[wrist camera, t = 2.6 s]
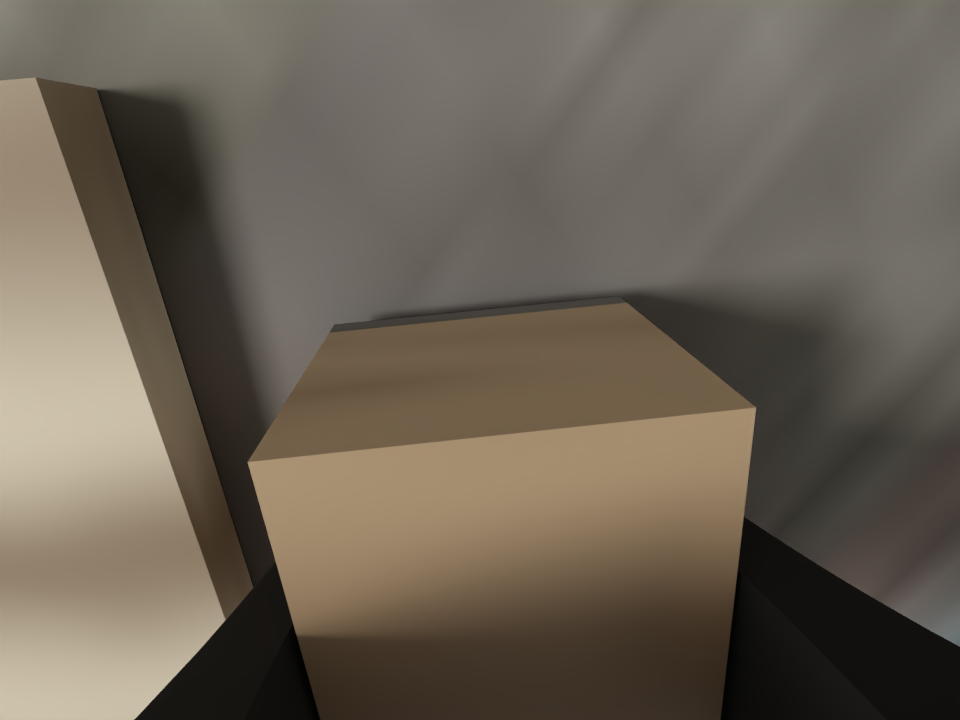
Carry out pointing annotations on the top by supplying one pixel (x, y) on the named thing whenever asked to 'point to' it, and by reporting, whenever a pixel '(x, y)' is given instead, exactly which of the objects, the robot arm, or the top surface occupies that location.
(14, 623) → the board
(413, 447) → the block
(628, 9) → the top surface
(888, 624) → the robot arm
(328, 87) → the top surface
